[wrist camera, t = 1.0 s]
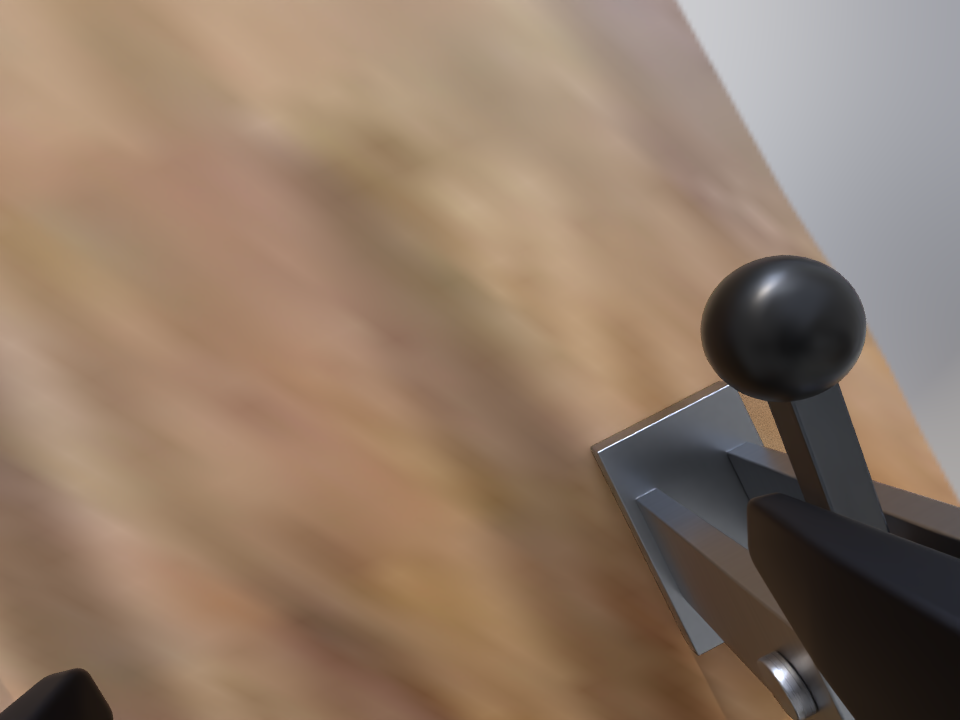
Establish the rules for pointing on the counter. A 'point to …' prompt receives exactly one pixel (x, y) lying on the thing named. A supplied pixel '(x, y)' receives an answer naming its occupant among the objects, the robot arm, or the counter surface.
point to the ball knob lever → (798, 370)
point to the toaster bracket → (733, 534)
